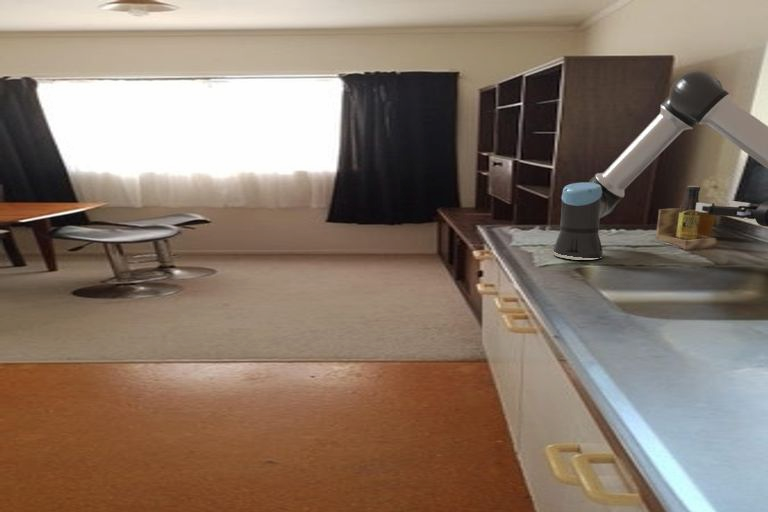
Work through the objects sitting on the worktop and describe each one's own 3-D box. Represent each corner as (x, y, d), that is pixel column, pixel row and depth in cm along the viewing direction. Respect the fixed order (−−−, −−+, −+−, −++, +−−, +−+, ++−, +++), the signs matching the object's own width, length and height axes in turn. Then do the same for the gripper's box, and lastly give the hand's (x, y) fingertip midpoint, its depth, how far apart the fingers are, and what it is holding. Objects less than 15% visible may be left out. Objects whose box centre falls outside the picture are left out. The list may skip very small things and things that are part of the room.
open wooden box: (684, 249, 167) (689, 214, 165) (655, 241, 180) (658, 209, 177) (715, 246, 170) (720, 212, 167) (684, 239, 183) (688, 207, 180)
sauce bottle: (679, 244, 172) (685, 187, 168) (672, 240, 178) (678, 185, 174) (700, 244, 171) (706, 186, 167) (692, 240, 177) (698, 185, 173)
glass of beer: (686, 233, 194) (690, 203, 191) (715, 236, 189) (719, 204, 186) (683, 237, 187) (687, 206, 184) (713, 240, 181) (718, 207, 178)
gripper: (740, 230, 140) (680, 218, 160) (808, 225, 145) (743, 215, 166) (744, 204, 138) (683, 195, 158) (813, 200, 144) (746, 193, 164)
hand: (713, 205), depth 162 cm, fingers open, 13 cm apart
